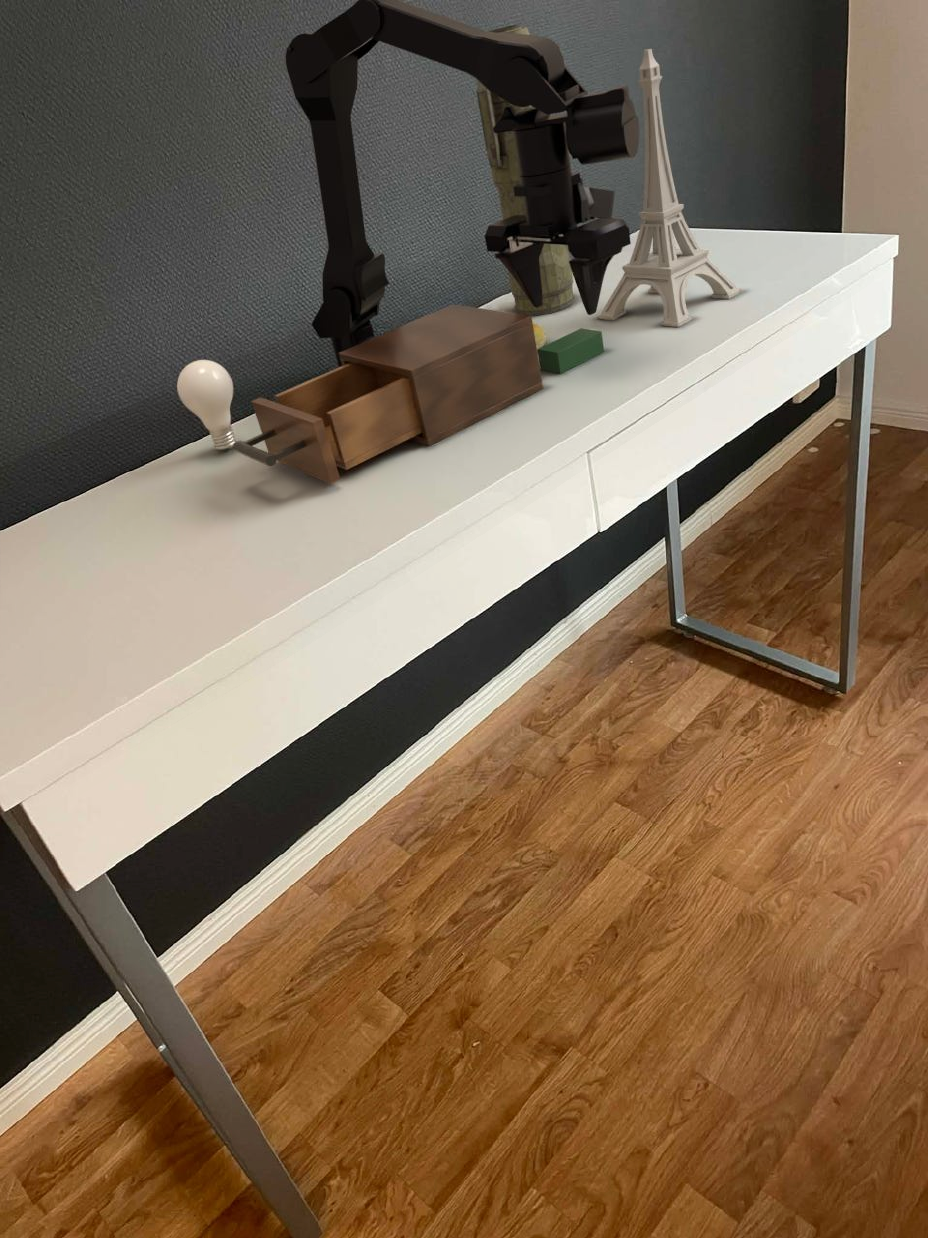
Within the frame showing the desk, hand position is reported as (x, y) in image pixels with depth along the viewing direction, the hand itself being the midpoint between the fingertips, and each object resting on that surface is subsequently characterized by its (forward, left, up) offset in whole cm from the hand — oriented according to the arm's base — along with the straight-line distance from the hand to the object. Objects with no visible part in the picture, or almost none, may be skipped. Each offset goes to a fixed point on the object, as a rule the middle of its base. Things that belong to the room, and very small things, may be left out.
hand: (564, 310), depth 115 cm
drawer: (-4, -32, -5) cm, 32 cm away
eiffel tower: (-2, +20, -6) cm, 21 cm away
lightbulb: (-21, -38, -6) cm, 44 cm away
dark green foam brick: (0, 0, -6) cm, 6 cm away
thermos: (-21, +15, -6) cm, 27 cm away
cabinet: (-4, -16, -6) cm, 18 cm away
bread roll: (-11, 0, -6) cm, 13 cm away
